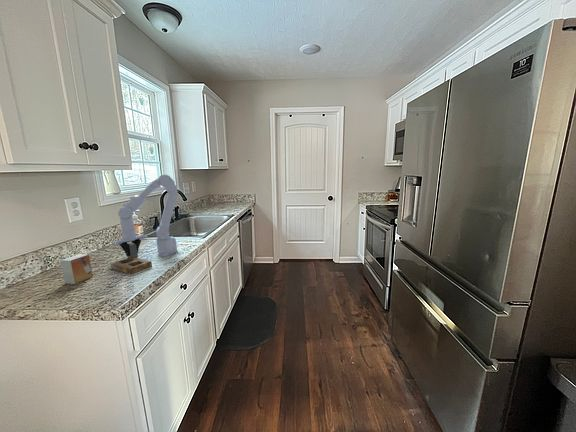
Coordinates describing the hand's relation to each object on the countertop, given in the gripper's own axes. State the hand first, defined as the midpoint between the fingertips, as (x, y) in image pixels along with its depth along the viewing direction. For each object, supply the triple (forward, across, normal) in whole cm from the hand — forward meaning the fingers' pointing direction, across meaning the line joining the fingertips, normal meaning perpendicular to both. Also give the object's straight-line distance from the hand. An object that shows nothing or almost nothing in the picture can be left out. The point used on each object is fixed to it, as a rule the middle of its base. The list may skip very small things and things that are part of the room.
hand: (132, 254), depth 128 cm
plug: (+2, 0, 0) cm, 2 cm away
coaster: (+3, 0, 0) cm, 3 cm away
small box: (+3, +25, +4) cm, 25 cm away
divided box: (+3, +8, +12) cm, 14 cm away
